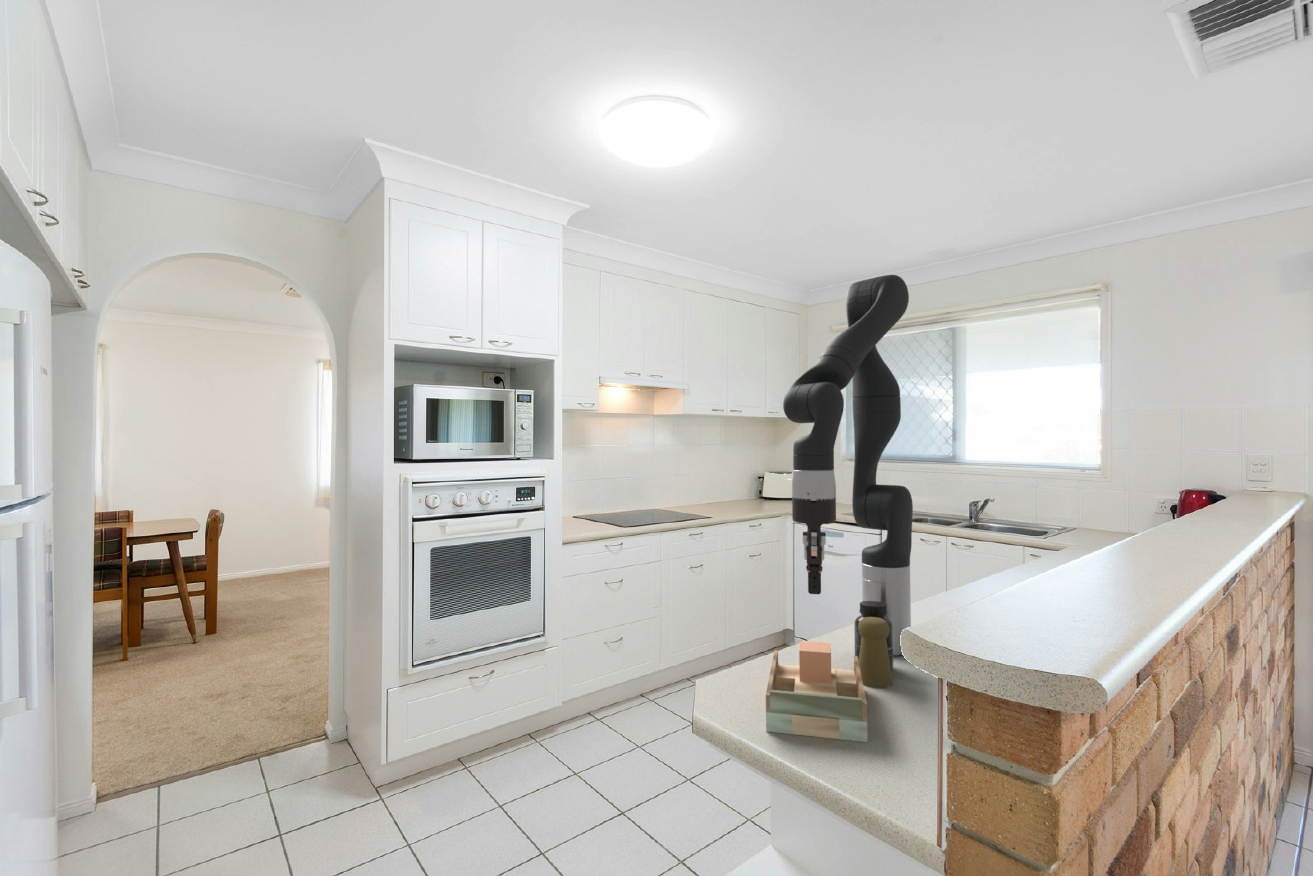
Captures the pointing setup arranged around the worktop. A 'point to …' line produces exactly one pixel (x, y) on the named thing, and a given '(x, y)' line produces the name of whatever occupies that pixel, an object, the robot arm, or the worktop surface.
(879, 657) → the cork
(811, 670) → the block
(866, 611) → the supplement bottle
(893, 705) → the worktop surface
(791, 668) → the wooden organizer box
